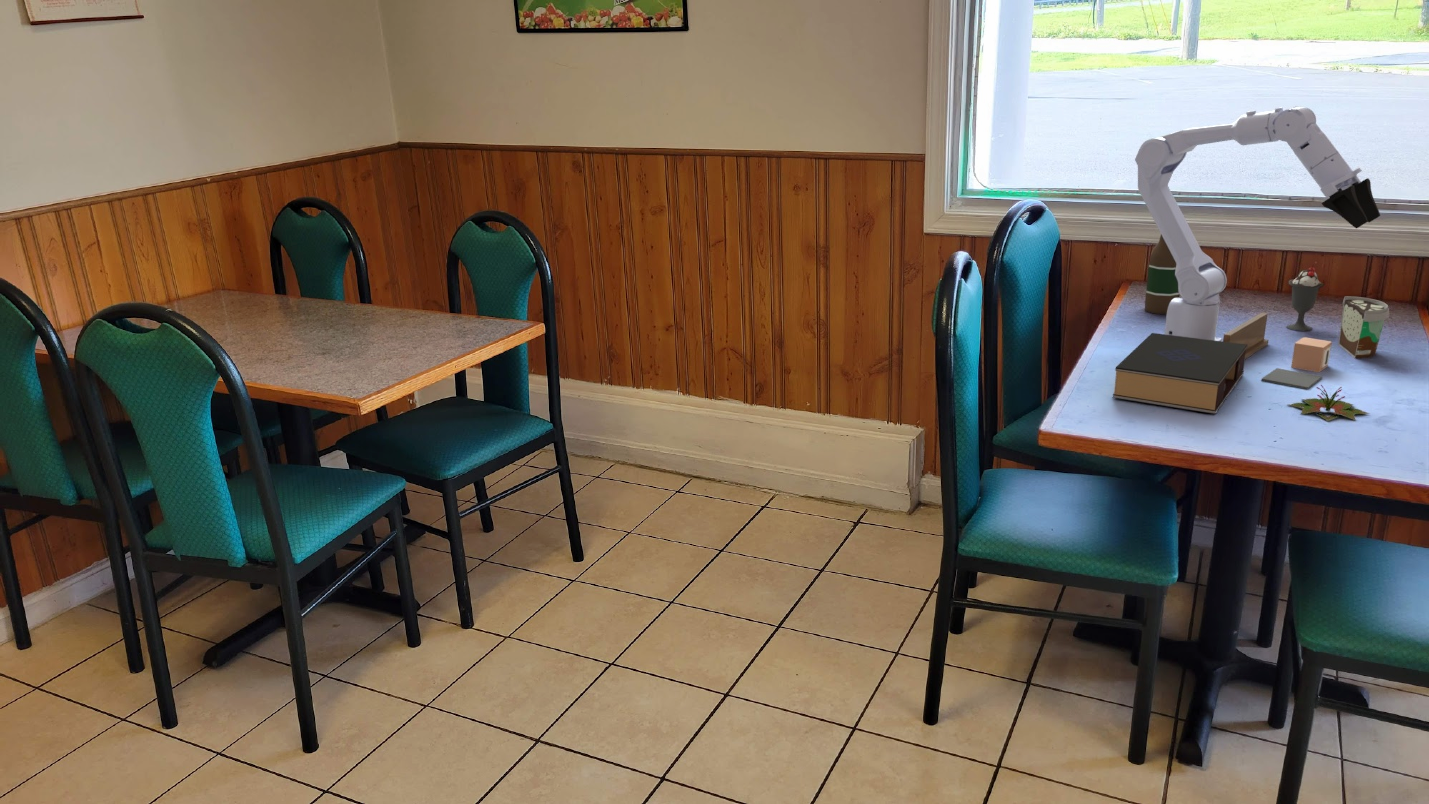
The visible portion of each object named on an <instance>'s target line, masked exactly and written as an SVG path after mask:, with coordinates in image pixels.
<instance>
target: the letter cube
mask: <svg viewBox="0 0 1429 804" xmlns="http://www.w3.org/2000/svg"><path fill="white" fill-rule="evenodd" d="M1332 344H1333V342H1332V341H1330V340H1324V339H1318V338H1312V337H1306V336H1305V337H1304V336H1303V337H1301V338H1300V339H1299V340H1297V341H1295V342H1294V346H1293V354H1292V360H1291V366H1290V368H1294V369H1297V370H1299V369H1300V370H1303V371H1304V370H1305V371H1309V372H1310V371H1311V372H1315V373H1320V372H1322V371H1323V370H1324V369H1326V368H1328V366H1329V360H1330V356H1331V355H1330V354H1331V349H1332V348H1331V347H1332Z"/></svg>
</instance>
